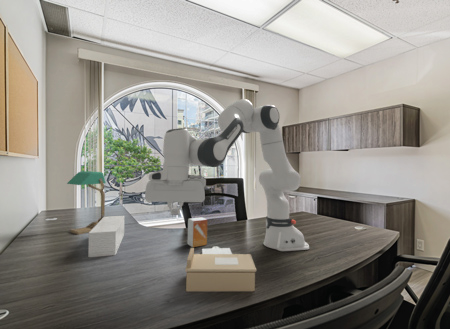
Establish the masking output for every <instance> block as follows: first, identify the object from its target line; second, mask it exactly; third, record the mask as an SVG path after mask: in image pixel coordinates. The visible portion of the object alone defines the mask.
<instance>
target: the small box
mask: <svg viewBox="0 0 450 329" xmlns="http://www.w3.org/2000/svg"><path fill="white" fill-rule="evenodd" d="M207 244H208V219H207V218H205V217H202V216H201V217H200V216H199V217H192V218H188V219H187V245H188V246H190V248H195V247H201V246H207Z"/></svg>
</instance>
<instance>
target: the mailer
mask: <svg viewBox="0 0 450 329" xmlns="http://www.w3.org/2000/svg"><path fill="white" fill-rule="evenodd" d="M185 282H186V283H185V284H186V285H185V286H186V288H185V291H186V292H255V291H256V290H255V289H256V288H255V287H256V284H255V283H256V272H186V281H185Z"/></svg>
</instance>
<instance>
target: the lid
mask: <svg viewBox="0 0 450 329" xmlns="http://www.w3.org/2000/svg"><path fill="white" fill-rule="evenodd" d="M186 261H187V262H186V266H185V272H186V273H187V272H255V273H256V272H257V268H256V264H255V262H254V260H253V257H252V254H250V253H246V254H245V253H244V254H243V253H241V254H240V253H232V254H202V253H195V247H190V248H189V253H188V255H187V260H186Z"/></svg>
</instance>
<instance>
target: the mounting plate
mask: <svg viewBox="0 0 450 329" xmlns="http://www.w3.org/2000/svg"><path fill="white" fill-rule="evenodd" d="M201 254H233V252H232V251H231V247H222V248H221V247H220V246H212V248H202V249H201Z"/></svg>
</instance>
